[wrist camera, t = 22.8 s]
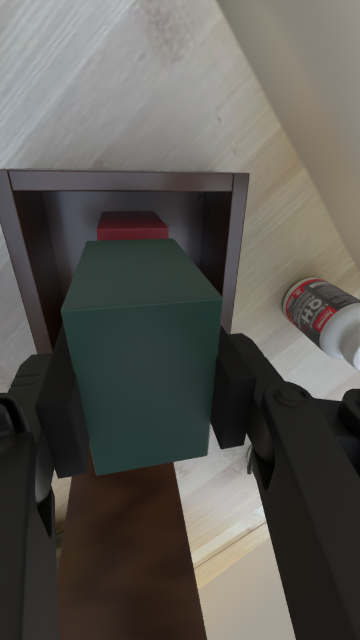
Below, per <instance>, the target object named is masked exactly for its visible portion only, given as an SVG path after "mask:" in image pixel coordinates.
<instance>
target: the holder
mask: <svg viewBox="0 0 360 640" xmlns="http://www.w3.org/2000/svg"><path fill="white" fill-rule="evenodd" d="M249 175H250V174H249V173H235V172H206V171H144V170H83V169H0V223H1V227H2V230H3V234H4V237H5V241H6V244H7V248H8V251H9V255H10V258H11V262H12V265H13V269H14V272H15V276H16V280H17V283H18V287H19V290H20V294H21V297H22V301H23V304H24V308H25V311H26V315H27V318H28V322H29V325H30V329H31V332H32V336H33V339H34V343H35V346H36V350H37V353H38V354H47V353H53V350H54V347H55V344H56V341H57V338H58V335H59V332H60V329H61V326H62V323H63V320H62V315H61V309H62V306H63V303H64V301H65V298H66V295H67V293H68V290H69V287H70V285H71V282H72V279H73V277H74V274H75V271H76V269H77V266H78V263H79V261H80V258H81V255H82V252H83V250H84V247H85V244H86V242H87V241H98V240H97V232H96V230H97V227H98V224H99V221H100V218H101V215H102V212H123V211H154V212H155V213H156V214H157V215H158V216H159V218H160V219H161V220H162V221H163V222H164V223H165V225H166V226H167V227H168V228H169V239H170V238H173V239H174V240H175V241H176V242H177V243H178V244H179V246H180V247H181V248H182V249H183V250H184V252H185V253H186V254H187V255H188V256H189V258H190V259H191V260H192V261H193V263H194V264H195V265H196V266H197V267H198V269H199V270H200V271H201V272H202V273H203V275H204V276H205V277H206V278H207V279H208V281H209V282H210V283H211V284H212V286H213V287H214V288H215V289H216V290H217V292H218V293H219V294H220V295H221V296H222V298H223V306H222V316H221V325H222V327H223V328H224V330H225V331H226V333H227V334H230V332H231V324H232V315H233V307H234V299H235V291H236V282H237V274H238V266H239V258H240V249H241V241H242V233H243V225H244V216H245V208H246V200H247V192H248V183H249Z"/></svg>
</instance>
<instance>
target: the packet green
mask: <svg viewBox="0 0 360 640" xmlns="http://www.w3.org/2000/svg"><path fill="white" fill-rule="evenodd" d="M222 306H223V298H222V296H221V295H220V294H219V293H218V292H217V290H216V289H215V288H214V287H213V286H212V284H211V283H210V282H209V281H208V279H207V278H206V277H205V276H204V275H203V273H202V272H201V271H200V270H199V269H198V267H197V266H196V265H195V264H194V263H193V261H192V260H191V259H190V258H189V256H188V255H187V254H186V253H185V252H184V250H183V249H182V248H181V247H180V246H179V244H178V243H177V242H176V241H175V240H174V239H173V238H170V239H137V240H103V241H87V242H86V244H85V247H84V250H83V252H82V255H81V258H80V261H79V263H78V266H77V269H76V271H75V274H74V277H73V279H72V282H71V285H70V287H69V290H68V293H67V295H66V298H65V301H64V303H63V306H62V309H61V315H62V320H63V324H64V329H65V333H66V338H67V343H68V347H69V352H70V357H71V361H72V366H73V371H74V373H75V374H76V379H77V384H78V388H79V393H80V398H81V403H82V407H83V412H84V417H85V421H86V426H87V431H88V435H89V440H90V443H89V445H90V449H91V454H92V459H93V463H94V468H95V472H96V475H97V476H99V475H105V474H110V473H115V472H121V471H126V470H132V469H137V468H143V467H148V466H154V465H159V464H165V463H170V462H176V461H181V460H187V459H192V458H198V457H203V456H207V455H208V445H209V435H210V425H211V422H210V419H211V409H212V399H213V389H214V379H215V369H216V359H217V356H218V346H219V336H220V326H221V316H222Z"/></svg>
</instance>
